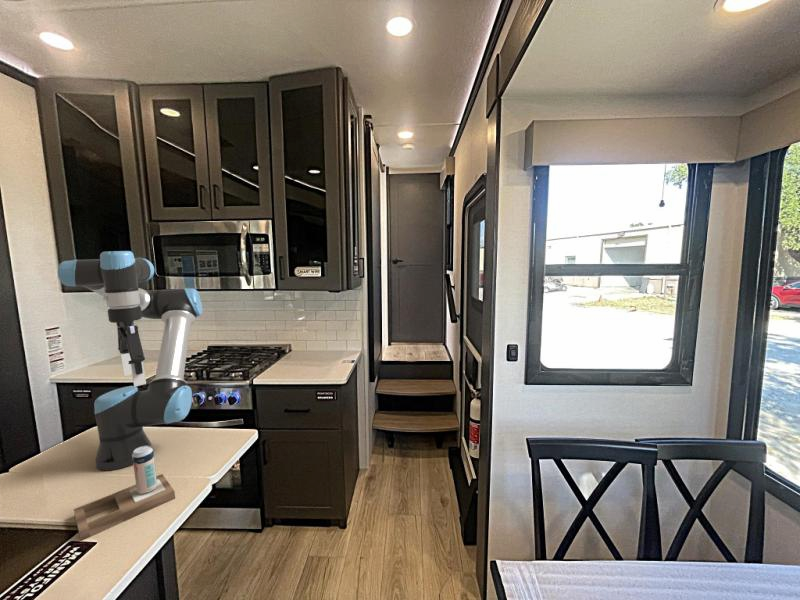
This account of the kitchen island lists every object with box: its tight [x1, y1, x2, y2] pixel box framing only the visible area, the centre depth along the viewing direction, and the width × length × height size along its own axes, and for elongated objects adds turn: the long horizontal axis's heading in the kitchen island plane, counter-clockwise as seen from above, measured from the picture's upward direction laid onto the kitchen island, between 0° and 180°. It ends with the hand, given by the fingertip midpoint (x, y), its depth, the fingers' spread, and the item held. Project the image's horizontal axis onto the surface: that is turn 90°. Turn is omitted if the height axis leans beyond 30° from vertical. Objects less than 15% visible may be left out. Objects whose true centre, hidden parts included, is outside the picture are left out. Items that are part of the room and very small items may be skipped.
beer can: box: [132, 446, 158, 494], centre depth 102 cm, size 5×5×12 cm
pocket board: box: [73, 473, 176, 542], centre depth 99 cm, size 12×20×2 cm, turn 136°
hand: (134, 379), depth 106 cm, fingers open, 13 cm apart
